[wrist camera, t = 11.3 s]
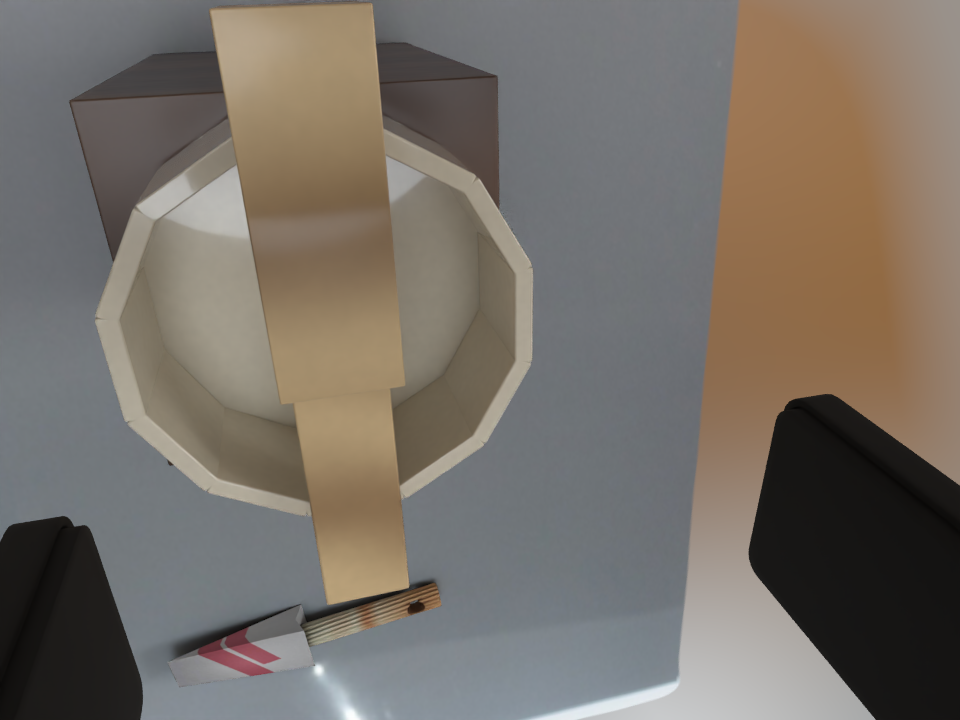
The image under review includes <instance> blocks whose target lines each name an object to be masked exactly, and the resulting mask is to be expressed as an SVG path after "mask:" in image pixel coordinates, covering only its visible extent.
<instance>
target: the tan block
mask: <svg viewBox="0 0 960 720" xmlns="http://www.w3.org/2000/svg"><path fill="white" fill-rule="evenodd" d="M209 14H210V20H211V25H212V31H213V36H214V42H215V47H216V53H217V58H218V64H219V69H220V75H221V80H222V86H223V92H224V97H225V103H226V108H227V114H228V119H229V125H230V130H231V136H232V141H233V147H234V152H235V158H236V163H237V169H238V174H239V180H240V185H241V191H242V197H243V202H244V208H245V213H246V219H247V224H248V230H249V235H250V241H251V246H252V252H253V257H254V263H255V268H256V274H257V279H258V285H259V291H260V296H261V302H262V307H263V313H264V318H265V324H266V329H267V335H268V340H269V346H270V351H271V357H272V362H273V368H274V373H275V379H276V384H277V390H278V396H279V401H280V404H281V405H284V404H291V403H293V409H294V415H295V421H296V427H297V433H298V438H299V444H300V450H301V456H302V462H303V467H304V473H305V479H306V485H307V491H308V497H309V502H310V508H311V514H312V520H313V526H314V532H315V537H316V543H317V549H318V555H319V561H320V567H321V572H322V578H323V584H324V590H325V596H326V602H327V604H328V605H331V604H336V603H341V602H346V601H350V600H355V599H360V598H364V597H369V596H374V595H379V594H383V593H388V592H393V591H398V590H402V589H407V588H409V576H408V566H407V555H406V545H405V535H404V525H403V515H402V504H401V494H400V484H399V474H398V463H397V453H396V443H395V433H394V422H393V412H392V402H391V392H390V388H397V387H403V386H405V374H404V362H403V351H402V339H401V328H400V316H399V304H398V293H397V281H396V270H395V258H394V246H393V235H392V223H391V212H390V200H389V188H388V177H387V165H386V154H385V142H384V130H383V119H382V107H381V96H380V84H379V72H378V61H377V49H376V38H375V26H374V14H373V5H372V3H368V2H358V1H345V2H316V3H287V4H258V5H229V6H217V7H214V8H211V9H209Z"/></svg>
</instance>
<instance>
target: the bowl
mask: <svg viewBox="0 0 960 720" xmlns="http://www.w3.org/2000/svg"><path fill="white" fill-rule="evenodd" d="M382 119H383V130H384V142H385V154H386V165H387V177H388V188H389V200H390V212H391V223H392V235H393V246H394V258H395V270H396V281H397V293H398V304H399V316H400V328H401V339H402V351H403V362H404V374H405V386H403V387H397V388H390V392H391V402H392V412H393V422H394V433H395V443H396V453H397V463H398V474H399V484H400V494H401V500H402V499H403V498H404V497H405V498H408V497H409V496H411V495H412V494H414V493H415V492H416V491H418V490H419V489H421V488H422V487H424V486H425V485H427V484H428V483H430V482H431V481H433V480H434V479H436V478H437V477H439V476H440V475H442V474H443V473H444V472H446V471H447V470H449V469H450V468H452V467H453V466H455V465H456V464H458V463H459V462H461V461H462V460H464V459H465V458H467V457H468V456H470V455H471V454H472V453H474V452H475V451H477V450H478V449H480V448H481V447H483V446H484V443H486V442H487V440H488V439H489V437H490V435H491V433H492V432H493V430H494V428H495V426H496V425H497V423H498V421H499V420H500V418H501V416H502V414H503V413H504V411H505V409H506V407H507V406H508V404H509V402H510V400H511V399H512V397H513V395H514V393H515V392H516V390H517V388H518V387H519V385H520V383H521V381H522V380H523V378H524V376H525V374H526V373H527V371H528V369H529V367H530V366H531V363H530V362H531V361H532V338H533V268H532V267H531V266H532V263H531V262H530V260H529V258H528V257H527V255H526V254H525V252H524V250H523V249H522V247H521V245H520V244H519V242H518V240H517V239H516V237H515V236H514V234H513V232H512V231H511V229H510V227H509V226H508V224H507V223H506V221H505V219H504V218H503V216H502V214H501V213H500V211H499V209H498V208H497V206H496V205H495V203H494V201H493V200H492V198H491V196H490V195H489V193H488V192H487V190H486V188H485V187H484V185H483V183H482V182H481V180H480V179H479V178H478V177H477V176H476V175H475V174H474V173H473V172H471V171H470V170H469V169H468V168H467V167H466V166H465V165H463V164H462V163H461V162H460V161H459V160H458V159H457V158H455V157H454V156H453V155H452V154H451V153H450V152H449V151H447V150H446V149H445V148H444V147H443V146H442V145H440V144H438V143H436V142H434V141H432V140H430V139H428V138H426V137H424V136H422V135H420V134H418V133H416V132H414V131H413V130H411V129H409V128H407V127H406V126H404V125H402V124H401V123H399V122H397V121H395V120H393V119H390V118H388V117H386V116H384V115H382ZM95 316H96V319H95V324H96V327H97V331H98V334H99V337H100V341H101V344H102V347H103V351H104V354H105V357H106V361H107V364H108V367H109V371H110V374H111V377H112V381H113V384H114V387H115V391H116V394H117V398H118V401H119V404H120V408H121V411H122V414H123V418H124V420H125V421H126V422H127V421H128V423H127V424H128V426H130V427H131V428H132V429H133V430H134V431H135V432H136V433H138V434H139V435H140V436H141V437H142V438H143V439H145V440H146V441H147V442H148V443H149V444H150V445H151V446H153V447H154V448H155V449H156V450H157V451H158V452H160V453H161V454H162V455H163V456H164V457H165V458H166V459H168V460H169V461H170V462H171V463H172V464H173V465H175V466H176V467H177V468H178V469H179V470H180V471H181V472H183V473H184V474H185V475H186V476H187V477H188V478H190V479H191V480H192V481H193V482H194V483H195V484H197V485H198V486H199V487H200V488H201V489H202V490H204V491H206V490H207V492H208V493H210V494H214V495H218V496H222V497H227V498H231V499H235V500H239V501H243V502H247V503H251V504H255V505H259V506H263V507H268V508H272V509H276V510H280V511H284V512H288V513H292V514H296V515H300V516H305V515H306V514H307V515H308V516H312V514H311V508H310V502H309V497H308V491H307V485H306V479H305V473H304V467H303V462H302V456H301V450H300V444H299V438H298V433H297V427H296V421H295V415H294V409H293V403H291V404H284V405H281V404H280V401H279V396H278V390H277V384H276V379H275V373H274V368H273V362H272V357H271V351H270V346H269V340H268V335H267V329H266V324H265V318H264V313H263V307H262V302H261V296H260V291H259V285H258V279H257V274H256V268H255V263H254V257H253V252H252V246H251V241H250V235H249V230H248V224H247V219H246V213H245V208H244V202H243V197H242V191H241V185H240V180H239V174H238V169H237V163H236V158H235V152H234V147H233V141H232V136H231V130H230V125H229V119H228V118H227V119H226V120H224V121H223V122H222V123H220V124H219V125H217V126H215V127H214V128H212V129H210V130H209V131H207V132H206V133H204V134H202V135H201V136H200V137H198V138H197V139H196V140H195V141H194V142H192V143H191V144H190V145H189V146H188V147H186V148H185V149H184V150H183V151H181V152H180V153H178V154H177V155H176V156H174V157H173V158H171V159H170V160H169V161H167V162H166V163H164V164H163V165H162V166H160V167H159V168H158V170H157V171H156V172H155V174H154V175H153V177H152V179H151V180H150V182H149V183H148V185H147V187H146V188H145V190H144V192H143V193H142V195H141V196H140V198H139V200H138V201H137V203H136V205H135V206H134V208H133V209H132V212H131V215H130V218H129V220H128V223H127V226H126V229H125V232H124V234H123V237H122V240H121V243H120V246H119V248H118V251H117V254H116V257H115V260H114V262H113V265H112V268H111V271H110V274H109V277H108V279H107V282H106V285H105V288H104V291H103V293H102V296H101V299H100V302H99V305H98V307H97V310H96V313H95Z"/></svg>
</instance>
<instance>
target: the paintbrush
mask: <svg viewBox="0 0 960 720" xmlns="http://www.w3.org/2000/svg"><path fill="white" fill-rule="evenodd" d="M415 600H418V602H416V603H413V604H410V603H411V602H412V601H415ZM440 606H441V600H440V596H439V592H438V589H437V586H436V584H435V583H432V584H429V585H426V586H423V587H420V588H416V589H413V590H410V591H407V592H404V593H401V594H398V595H395V596H391V597H388V598H385V599H381V600H378V601H375V602H371V603H368V604H365V605H362V606H359V607H355V608H352V609H349V610H346V611H343V612H339V613H336V614H333V615H330V616H326V617H323V618H320V619H317V620H314V621H310V622H307V621H306V618H305V615H304V612H303V609H302V605H299V606H296V607H294V608H292V609H289V610H287V611H285V612H282V613H280V614H278V615H275V616H273V617H271V618H268V619H266V620H264V621H261V622H259V623H257V624H255V625H252V626H250V627H248V628H245V629H243V630H241V631H238V632H236V633H234V634H231V635H229V636H227V637H224V638H222V639H220V640H217V641H215V642H213V643H211V644H208V645H206V646H204V647H201V648H199V649H197V650H194V651H192V652H190V653H187V654H185V655H183V656H180V657H178V658H176V659H173V660H171V661H169V662H168V664H169V667H170V669H171V671H172V673H173V675H174V677H175V680H176V682H177V684H178V686H179V687H186V686H192V685H198V684H204V683H211V682H217V681H223V680H229V679H236V678H242V677H248V676H254V675H261V674H267V673H273V672H279V671H286V670H292V669H298V668H304V667H310V666H315V664H314V661H313V658H312V655H311V651H310V648H309V647H311V646H314V645H317V644H321V643H325V642H328V641H331V640H334V639H337V638H340V637H344V636H347V635H350V634H353V633H356V632H360V631H363V630H366V629H369V628H372V627H375V626H379V625H382V624H385V623H388V622H391V621H394V620H398V619H401V618H404V617H407V616H410V615H413V614H416V613H420V612H423V611H426V610H430V609H433V608H436V607H440Z"/></svg>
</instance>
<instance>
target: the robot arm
mask: <svg viewBox="0 0 960 720" xmlns="http://www.w3.org/2000/svg"><path fill="white" fill-rule="evenodd" d="M749 560H750V563H751V566H752V569H753V570H754V572H755V574H756V575H757V576H758V578H759V579H760V580H761V581H762V583H763V584H764V585H765V586H766V587H767V589H768V590H769V591H770V592H771V593H772V594H773V596H774V597H775V598H776V599H777V601H778V602H779V603H780V604H781V606H782V607H783V608H784V609H785V610H786V612H787V613H788V614H789V615H790V616H791V618H792V619H793V620H794V621H795V623H796V624H797V625H798V626H799V627H800V629H801V630H802V631H803V632H804V633H805V635H806V636H807V637H808V638H809V639H810V641H811V642H812V643H813V644H814V646H815V647H816V648H817V649H818V650H819V652H820V653H821V654H822V655H823V656H824V658H825V659H826V660H827V661H828V662H829V664H830V665H831V666H832V667H833V668H834V669H835V671H836V672H837V673H838V674H839V676H840V677H841V678H842V679H843V681H844V682H845V683H846V684H847V685H848V687H849V688H850V689H851V690H852V691H853V692H854V694H855V695H856V696H857V697H858V699H859V700H860V701H861V702H862V704H863V705H864V706H865V707H866V708H867V710H868V711H869V712H870V713H871V714H872V716H873V717H874V718H875V719H876V720H960V485H958V484H957V483H956V482H954V481H953V480H951V479H950V478H948V477H947V476H946V475H944V474H943V473H942V472H940V471H939V470H938V469H936V468H935V467H933V466H932V465H931V464H929V463H928V462H927V461H925V460H924V459H922V458H921V457H919V456H918V455H917V454H915V453H914V452H913V451H911V450H910V449H909V448H907V447H906V446H904V445H903V444H902V443H900V442H899V441H897V440H896V439H895V438H893V437H892V436H891V435H889V434H888V433H886V432H885V431H884V430H882V429H881V428H879V427H878V426H876V425H875V424H874V423H872V422H871V421H870V420H868V419H867V418H866V417H864V416H863V415H862V414H860V413H859V412H857V411H856V410H855V409H853V408H852V407H850V406H849V405H848V404H846V403H845V402H844V401H842V400H841V399H839V398H838V397H836V396H834V395H832V394H823V395H817V396H811V397H805V398H798V399H794V400H792V401H789V403H788V404H787V405H786V406H785V409H784V411H783V412H781V413H780V414H779V415H778V416H777V419H776V423H775V427H774V432H773V437H772V442H771V447H770V451H769V456H768V460H767V465H766V470H765V475H764V479H763V484H762V489H761V494H760V498H759V503H758V508H757V512H756V517H755V522H754V527H753V532H752V536H751V541H750V546H749ZM142 704H143V690H142V682H141V678H140V674H139V671H138V668H137V665H136V662H135V659H134V656H133V653H132V650H131V647H130V645H129V642H128V639H127V636H126V633H125V630H124V627H123V624H122V621H121V618H120V615H119V612H118V609H117V606H116V603H115V600H114V597H113V594H112V592H111V589H110V586H109V583H108V580H107V577H106V574H105V571H104V568H103V565H102V562H101V559H100V556H99V553H98V550H97V547H96V544H95V541H94V538H93V536H92V533H91V531H90V529H89V528H88V527H87V526H85V525H82V526H76V527H74V526H73V524H72V522H71V520H70V519H69V518H68V517H65V516H61V517H55V518H49V519H43V520H36V521H30V522H24V523H18V524H13V525H11V526H9V527H8V529H7V530H6V532H5V533H4V535H3V537H2V539H1V542H0V720H140V718H141V712H142Z"/></svg>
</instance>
